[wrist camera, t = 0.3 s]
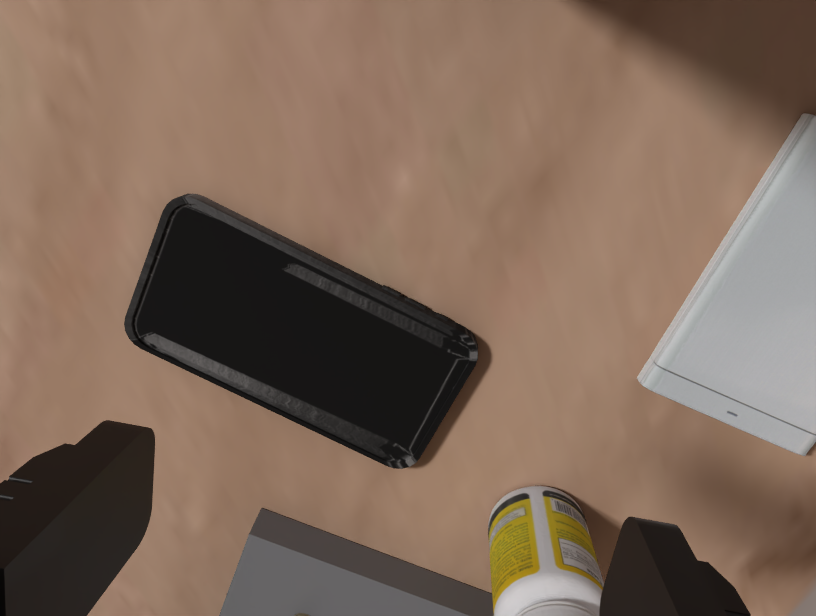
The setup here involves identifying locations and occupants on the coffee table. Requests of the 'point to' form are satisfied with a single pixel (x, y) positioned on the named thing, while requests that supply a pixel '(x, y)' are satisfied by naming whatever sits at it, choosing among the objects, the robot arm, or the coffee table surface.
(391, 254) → the coffee table surface
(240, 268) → the phone
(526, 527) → the supplement bottle
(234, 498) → the coffee table surface
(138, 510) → the robot arm
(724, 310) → the hard drive
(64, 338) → the coffee table surface
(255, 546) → the standoff chassis
